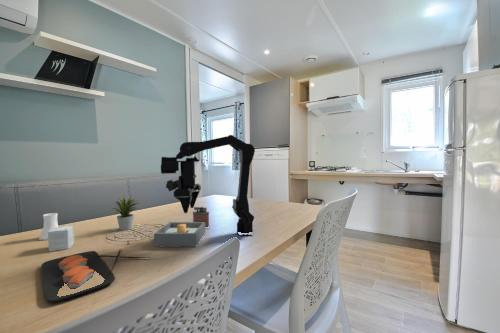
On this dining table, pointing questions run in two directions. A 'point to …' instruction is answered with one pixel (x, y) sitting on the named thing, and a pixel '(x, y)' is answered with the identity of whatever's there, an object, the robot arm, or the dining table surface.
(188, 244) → the box
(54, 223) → the salt shaker
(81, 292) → the sushi plate
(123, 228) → the house plant
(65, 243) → the product box
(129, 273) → the dining table surface
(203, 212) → the lighter
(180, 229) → the peg
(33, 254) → the dining table surface
